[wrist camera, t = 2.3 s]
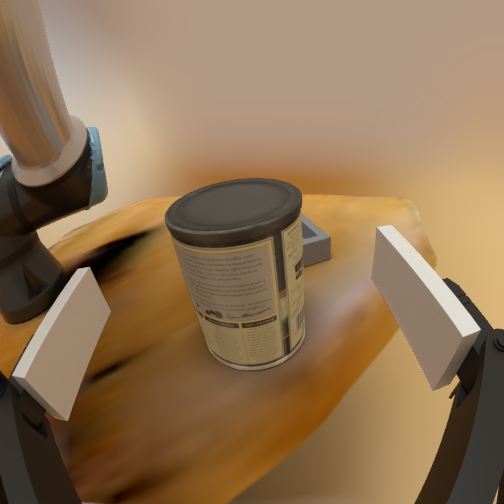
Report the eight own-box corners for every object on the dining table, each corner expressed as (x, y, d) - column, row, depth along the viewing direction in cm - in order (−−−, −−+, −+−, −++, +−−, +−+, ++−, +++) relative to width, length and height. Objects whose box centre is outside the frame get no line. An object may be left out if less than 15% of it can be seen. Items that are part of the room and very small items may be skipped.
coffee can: (206, 305, 33) (175, 189, 25) (294, 291, 33) (286, 171, 26) (203, 378, 24) (150, 243, 17) (316, 361, 24) (320, 217, 17)
